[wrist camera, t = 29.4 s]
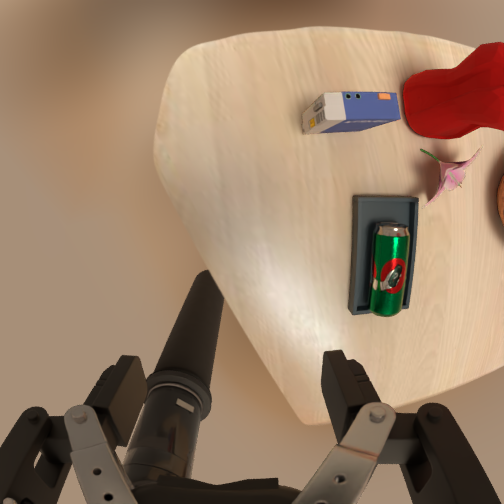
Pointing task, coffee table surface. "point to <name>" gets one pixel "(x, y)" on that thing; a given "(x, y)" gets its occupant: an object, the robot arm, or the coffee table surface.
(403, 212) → the tray
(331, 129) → the walkman
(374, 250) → the soda can
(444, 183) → the lily
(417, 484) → the robot arm
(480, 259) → the coffee table surface
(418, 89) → the water bottle
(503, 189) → the jug
